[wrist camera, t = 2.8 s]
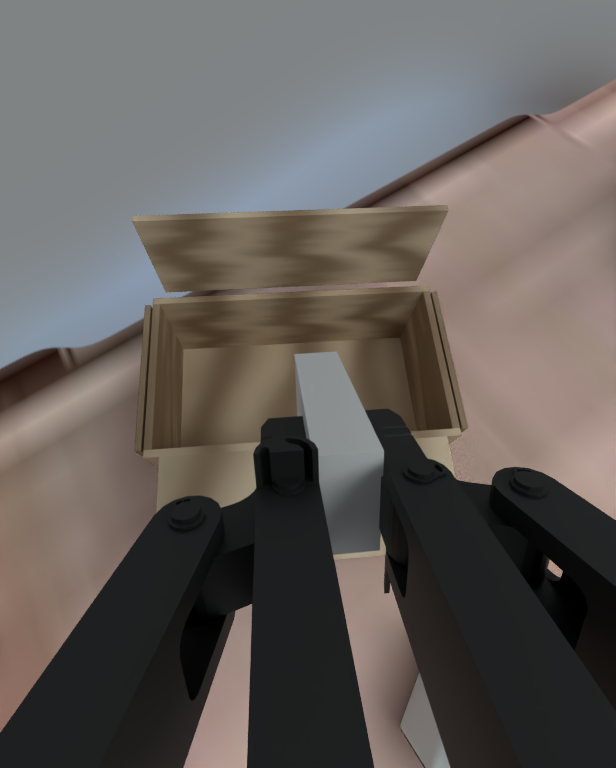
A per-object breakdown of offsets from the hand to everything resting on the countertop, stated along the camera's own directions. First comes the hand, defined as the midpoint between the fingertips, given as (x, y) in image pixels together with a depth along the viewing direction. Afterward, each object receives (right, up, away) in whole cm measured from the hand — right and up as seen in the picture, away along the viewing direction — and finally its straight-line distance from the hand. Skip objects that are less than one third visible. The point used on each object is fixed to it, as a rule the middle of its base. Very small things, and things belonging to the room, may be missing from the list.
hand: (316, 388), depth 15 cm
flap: (-1, +8, +17) cm, 19 cm away
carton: (-1, -5, +21) cm, 21 cm away
